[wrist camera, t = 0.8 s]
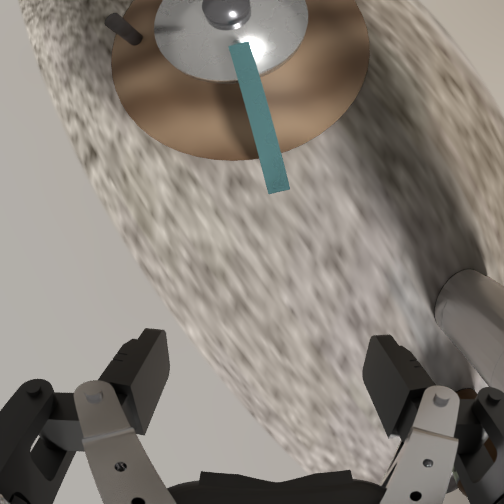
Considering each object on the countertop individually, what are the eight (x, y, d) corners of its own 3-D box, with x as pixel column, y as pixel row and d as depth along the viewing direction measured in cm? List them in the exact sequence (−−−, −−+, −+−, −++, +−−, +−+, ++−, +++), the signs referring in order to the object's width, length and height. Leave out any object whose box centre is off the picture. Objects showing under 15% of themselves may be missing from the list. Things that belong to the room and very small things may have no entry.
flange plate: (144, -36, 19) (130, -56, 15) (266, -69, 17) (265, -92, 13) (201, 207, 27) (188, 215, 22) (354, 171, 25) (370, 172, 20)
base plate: (107, -2, 24) (79, -25, 17) (318, -57, 20) (325, -91, 13) (144, 192, 31) (111, 200, 24) (395, 132, 27) (428, 125, 20)
